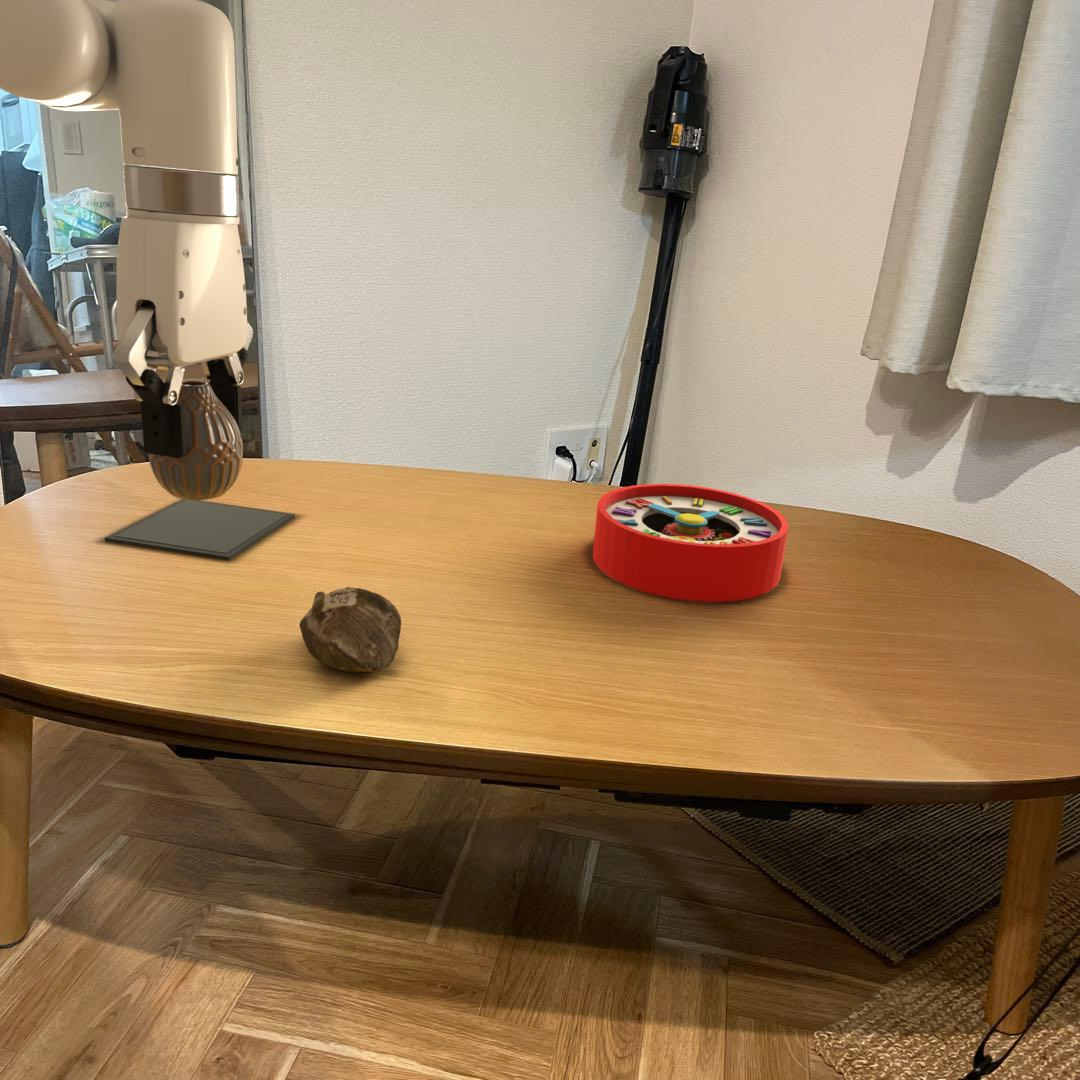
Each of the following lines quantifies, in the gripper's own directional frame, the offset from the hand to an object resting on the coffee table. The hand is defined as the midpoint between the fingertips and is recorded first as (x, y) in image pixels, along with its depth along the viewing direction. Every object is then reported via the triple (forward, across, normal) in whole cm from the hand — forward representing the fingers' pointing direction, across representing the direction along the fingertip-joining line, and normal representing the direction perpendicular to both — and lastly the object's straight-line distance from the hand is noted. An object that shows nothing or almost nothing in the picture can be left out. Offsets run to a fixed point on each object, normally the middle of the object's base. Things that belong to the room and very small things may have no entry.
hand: (195, 441), depth 70 cm
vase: (+4, 0, 0) cm, 4 cm away
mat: (+16, -21, -13) cm, 30 cm away
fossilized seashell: (+16, 0, +13) cm, 21 cm away
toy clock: (+16, -31, +38) cm, 51 cm away
